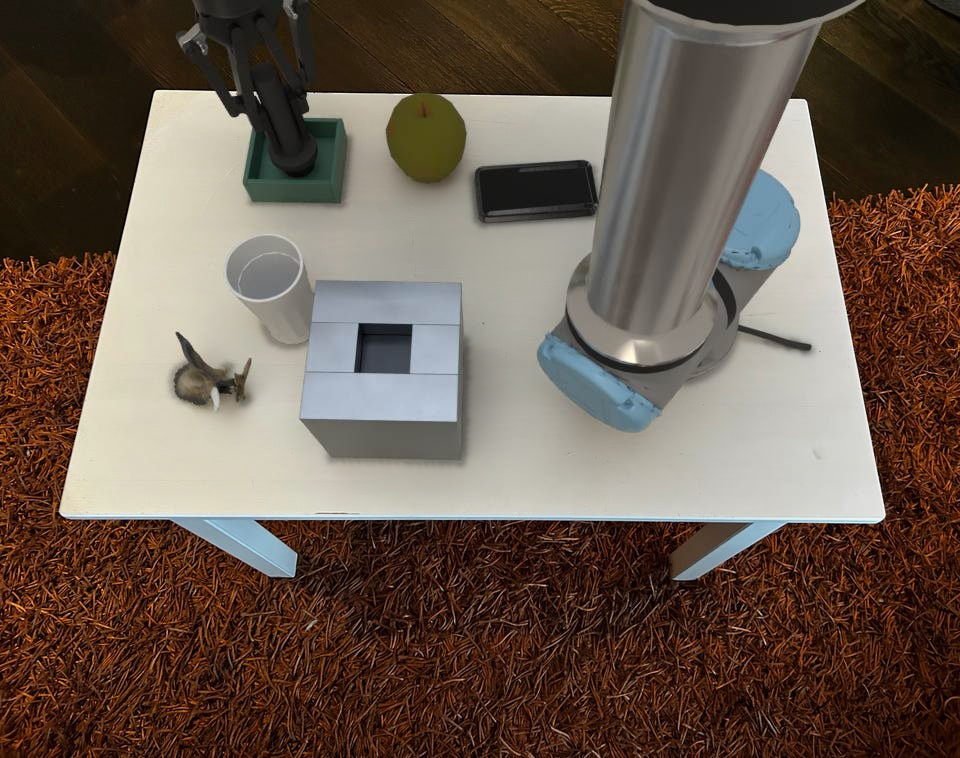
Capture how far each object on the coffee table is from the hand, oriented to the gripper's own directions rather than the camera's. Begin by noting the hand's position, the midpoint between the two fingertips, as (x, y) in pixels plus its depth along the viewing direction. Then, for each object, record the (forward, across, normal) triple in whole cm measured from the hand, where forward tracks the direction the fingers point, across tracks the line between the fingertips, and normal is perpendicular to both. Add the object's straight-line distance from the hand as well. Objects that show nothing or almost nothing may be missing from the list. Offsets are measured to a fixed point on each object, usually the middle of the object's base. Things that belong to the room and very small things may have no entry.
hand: (288, 138), depth 79 cm
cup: (+6, +10, +20) cm, 22 cm away
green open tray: (+6, 0, 0) cm, 6 cm away
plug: (+5, 0, 0) cm, 5 cm away
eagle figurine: (+6, +21, +22) cm, 31 cm away
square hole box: (+6, +3, +34) cm, 35 cm away
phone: (+6, -24, +18) cm, 31 cm away
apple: (+6, -15, +8) cm, 18 cm away
